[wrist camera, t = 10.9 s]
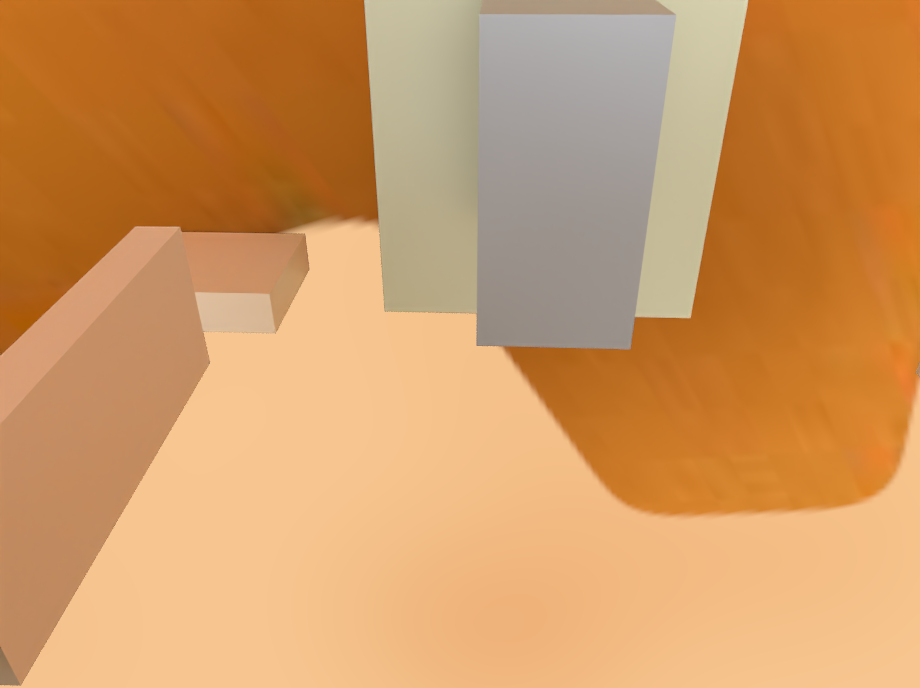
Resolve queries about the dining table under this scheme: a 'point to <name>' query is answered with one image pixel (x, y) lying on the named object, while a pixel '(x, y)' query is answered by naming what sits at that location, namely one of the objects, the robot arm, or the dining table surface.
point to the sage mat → (456, 150)
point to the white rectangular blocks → (245, 278)
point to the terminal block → (566, 166)
